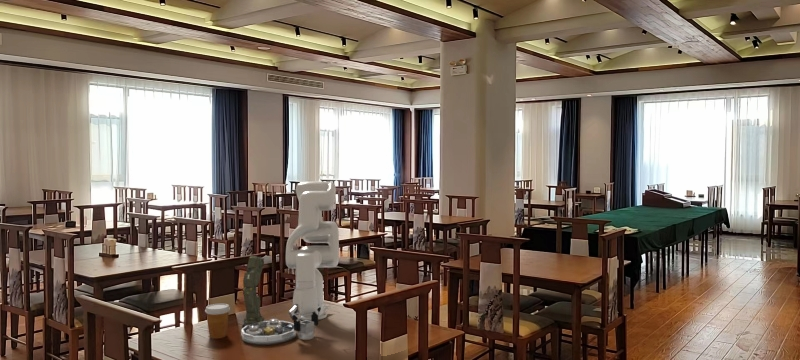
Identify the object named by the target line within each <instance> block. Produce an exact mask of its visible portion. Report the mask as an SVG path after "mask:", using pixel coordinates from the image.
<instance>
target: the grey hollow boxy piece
mask: <svg viewBox="0 0 800 360" xmlns="http://www.w3.org/2000/svg"><path fill="white" fill-rule="evenodd" d="M300 322H301V331H297V332H298V339H300V340H305V341H306V340H311V339H314V338H315V325H314V322H313V321H308V320H302V321H300Z"/></svg>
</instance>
